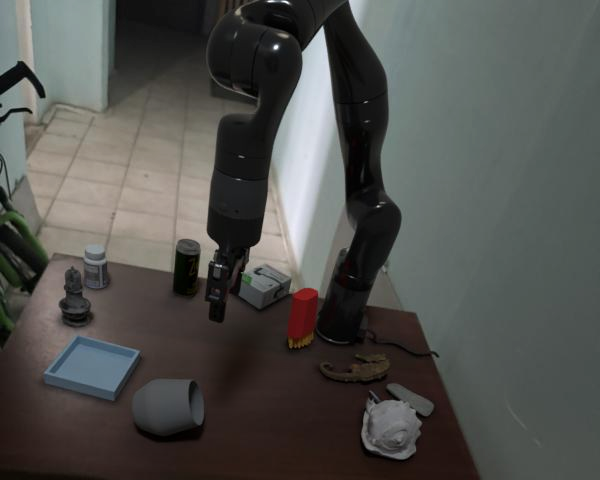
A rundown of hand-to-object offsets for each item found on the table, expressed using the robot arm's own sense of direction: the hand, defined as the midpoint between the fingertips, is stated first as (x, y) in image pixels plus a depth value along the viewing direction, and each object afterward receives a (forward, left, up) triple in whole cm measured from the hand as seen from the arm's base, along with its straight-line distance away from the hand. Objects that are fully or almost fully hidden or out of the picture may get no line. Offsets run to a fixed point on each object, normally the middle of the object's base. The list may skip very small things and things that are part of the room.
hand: (224, 306), depth 80 cm
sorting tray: (+22, -2, -22) cm, 31 cm away
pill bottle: (+33, -29, -22) cm, 49 cm away
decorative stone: (-39, -19, -21) cm, 49 cm away
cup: (+10, +8, -19) cm, 23 cm away
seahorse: (-20, -18, -17) cm, 32 cm away
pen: (-39, -6, -22) cm, 45 cm away
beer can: (+15, -35, -22) cm, 44 cm away
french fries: (-12, -28, -10) cm, 32 cm away
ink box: (+1, -37, -19) cm, 42 cm away
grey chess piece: (+31, -15, -22) cm, 41 cm away
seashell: (-32, -4, -22) cm, 39 cm away
